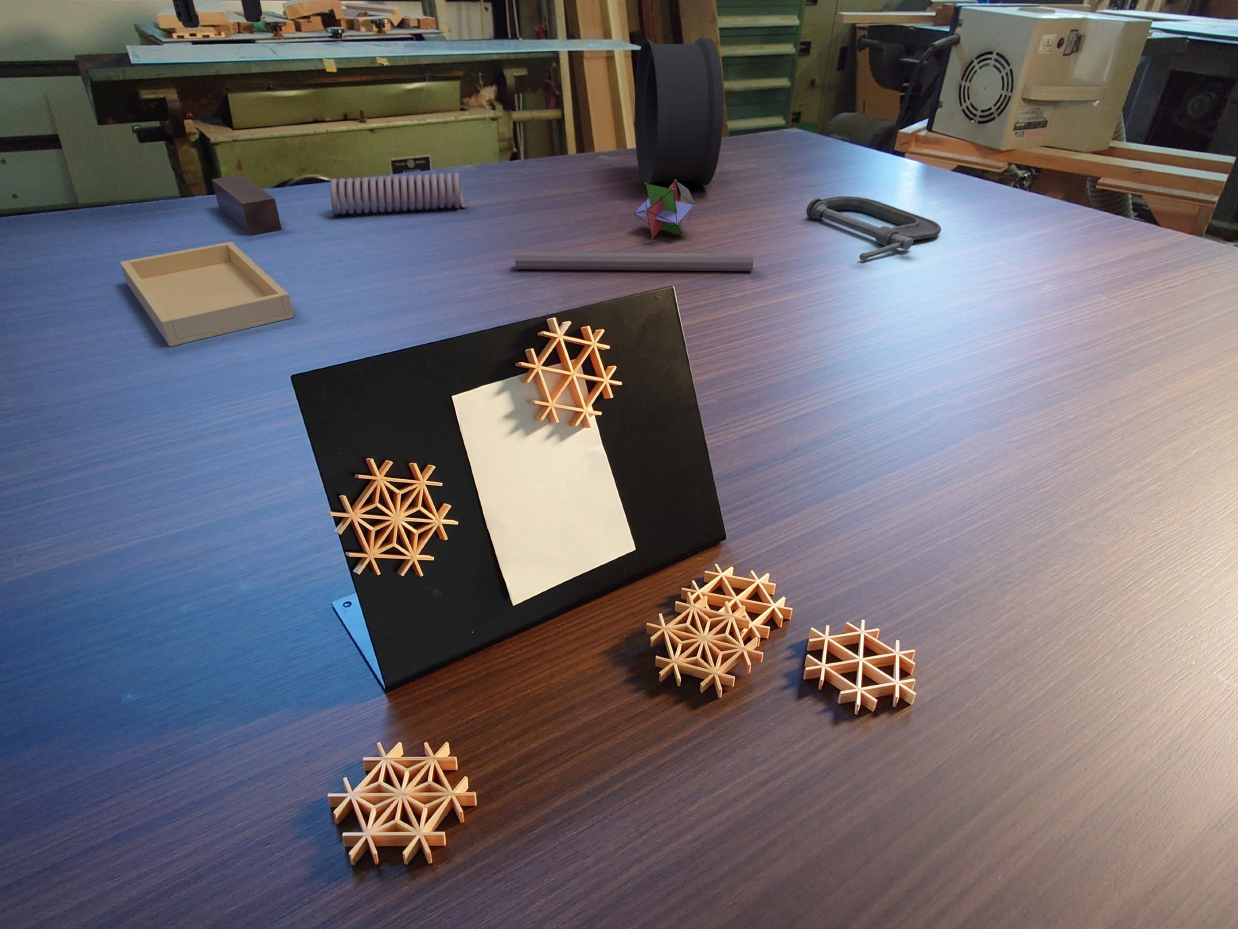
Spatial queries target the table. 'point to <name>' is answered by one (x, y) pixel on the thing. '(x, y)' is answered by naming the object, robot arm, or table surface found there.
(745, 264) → the metal rod
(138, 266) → the tray
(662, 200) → the geometric puzzle
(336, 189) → the coil
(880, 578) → the table surface
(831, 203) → the c clamp
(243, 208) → the block
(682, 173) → the wheel rim
